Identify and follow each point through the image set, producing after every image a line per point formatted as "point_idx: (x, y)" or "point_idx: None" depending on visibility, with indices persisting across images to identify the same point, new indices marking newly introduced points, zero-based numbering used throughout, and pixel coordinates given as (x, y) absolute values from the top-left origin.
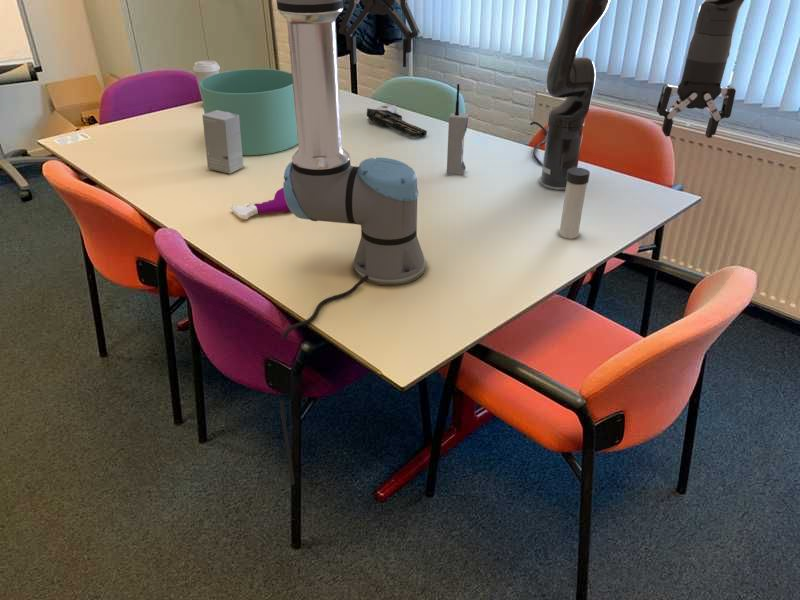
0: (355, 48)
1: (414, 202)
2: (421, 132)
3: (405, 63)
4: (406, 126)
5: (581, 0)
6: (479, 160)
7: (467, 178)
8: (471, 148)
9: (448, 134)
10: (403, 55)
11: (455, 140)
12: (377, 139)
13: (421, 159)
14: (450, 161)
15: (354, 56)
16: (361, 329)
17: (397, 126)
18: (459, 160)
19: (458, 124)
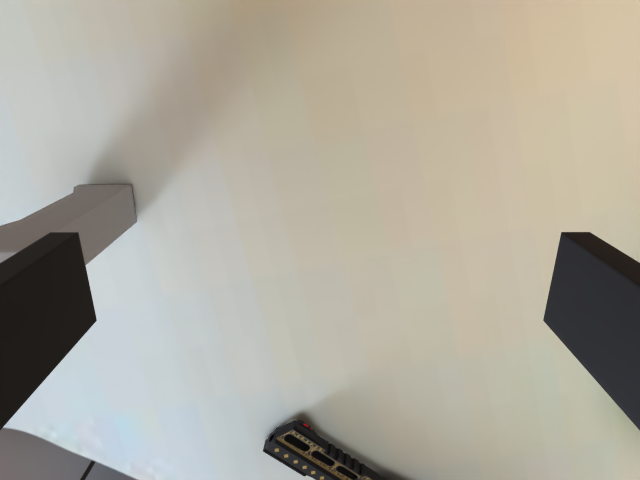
0: (626, 379)
1: None
2: (274, 439)
3: (35, 245)
4: (324, 465)
5: None
6: None
7: (68, 175)
8: (125, 384)
9: (66, 224)
10: (5, 277)
11: (50, 217)
12: (393, 400)
13: (237, 287)
14: (103, 195)
15: (593, 288)
16: None
17: (349, 462)
18: (71, 196)
19: (2, 239)
